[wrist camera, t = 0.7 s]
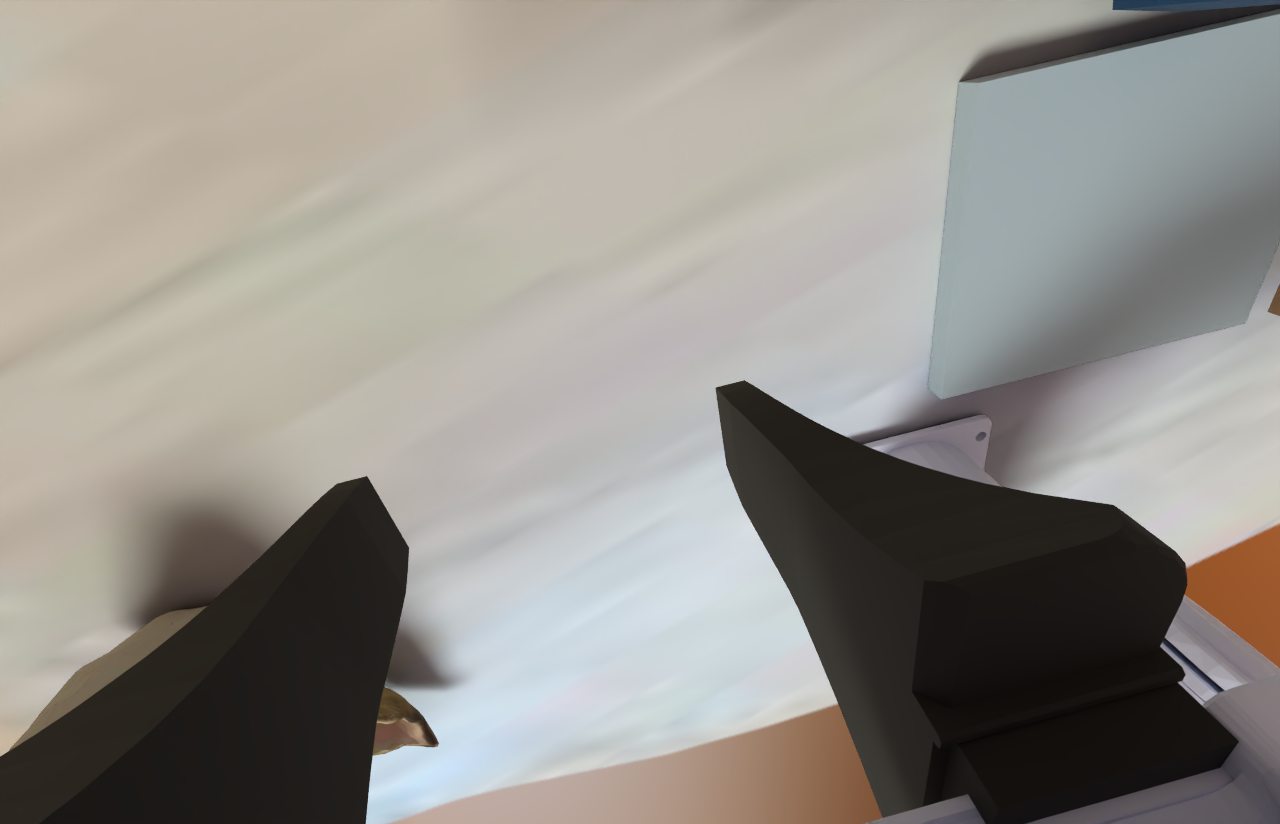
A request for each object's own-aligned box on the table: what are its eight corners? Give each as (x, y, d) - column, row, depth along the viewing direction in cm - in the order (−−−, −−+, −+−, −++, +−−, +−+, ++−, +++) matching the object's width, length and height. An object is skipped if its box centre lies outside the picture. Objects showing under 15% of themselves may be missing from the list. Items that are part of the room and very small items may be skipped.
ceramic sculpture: (108, 751, 16) (437, 875, 25) (230, 528, 23) (454, 685, 32) (-168, 881, 18) (237, 956, 26) (28, 632, 25) (296, 757, 33)
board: (1221, 314, 26) (1245, 323, 25) (927, 388, 26) (941, 399, 25) (1348, -8, 20) (1385, -11, 19) (959, 82, 19) (978, 83, 18)
